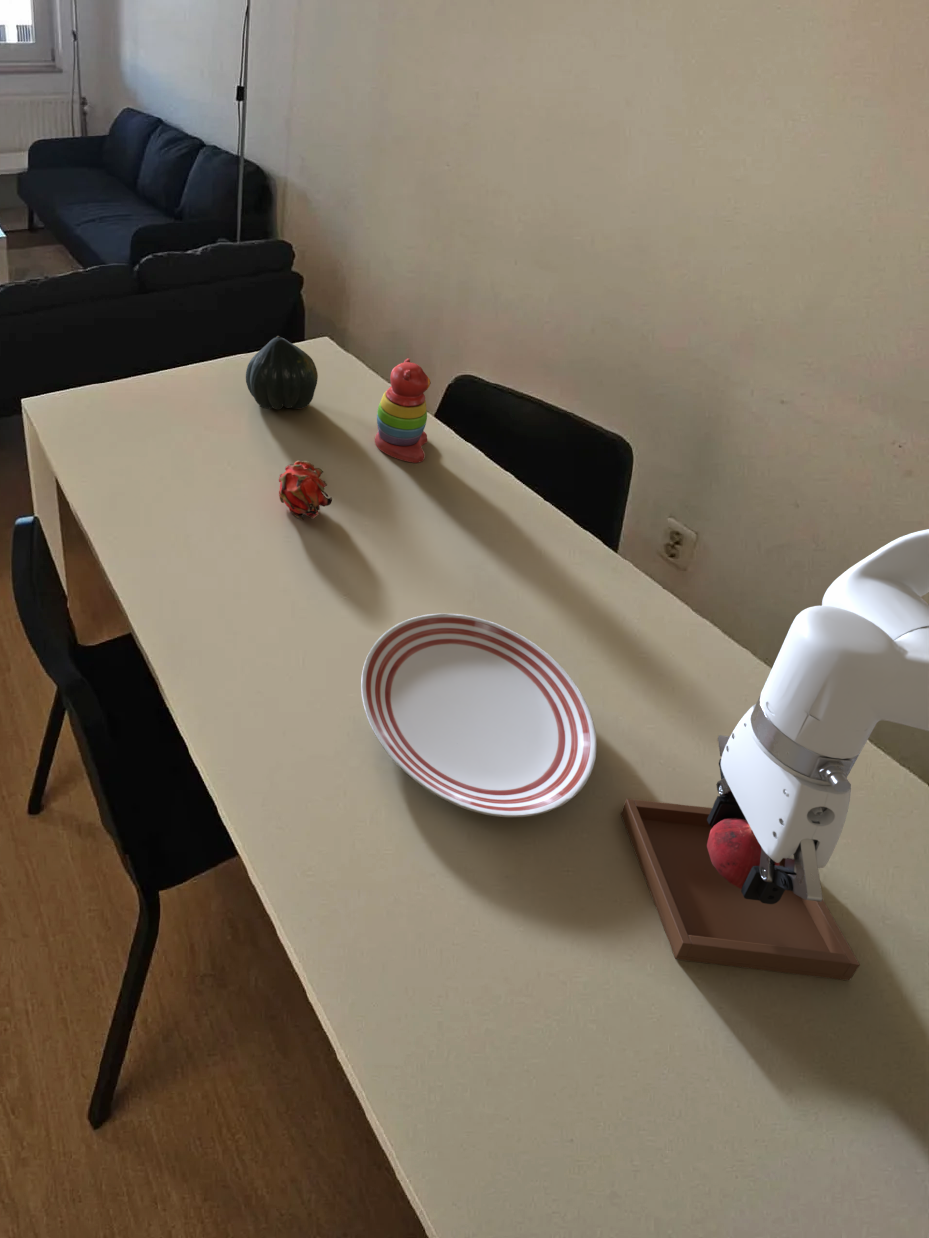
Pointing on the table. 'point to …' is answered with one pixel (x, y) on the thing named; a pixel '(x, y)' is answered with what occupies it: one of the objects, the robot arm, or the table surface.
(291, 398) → the squash
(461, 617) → the dinner plate
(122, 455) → the table surface
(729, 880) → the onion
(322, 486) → the dragon fruit
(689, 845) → the tray
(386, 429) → the stacking bear
